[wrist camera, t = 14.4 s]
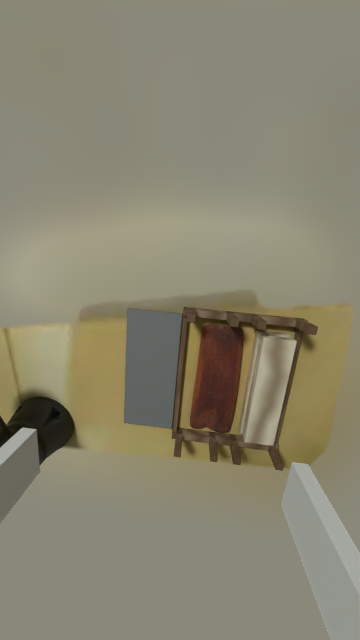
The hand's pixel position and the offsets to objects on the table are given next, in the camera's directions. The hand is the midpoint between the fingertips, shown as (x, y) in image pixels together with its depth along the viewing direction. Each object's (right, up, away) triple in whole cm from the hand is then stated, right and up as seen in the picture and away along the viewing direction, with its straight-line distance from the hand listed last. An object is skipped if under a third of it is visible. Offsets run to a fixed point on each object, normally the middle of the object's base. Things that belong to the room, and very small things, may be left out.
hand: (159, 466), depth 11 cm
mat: (-6, -5, +39) cm, 40 cm away
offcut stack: (+20, -7, +38) cm, 43 cm away
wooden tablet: (+4, -6, +39) cm, 39 cm away
